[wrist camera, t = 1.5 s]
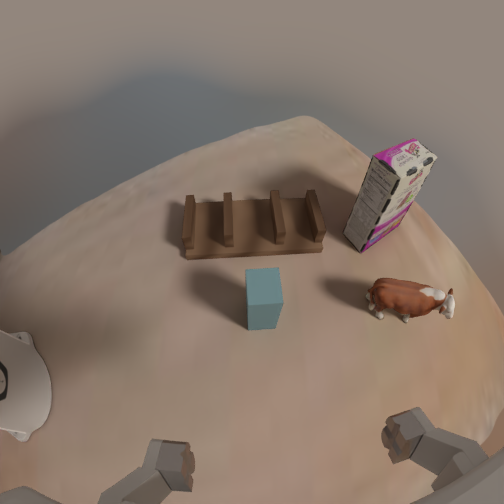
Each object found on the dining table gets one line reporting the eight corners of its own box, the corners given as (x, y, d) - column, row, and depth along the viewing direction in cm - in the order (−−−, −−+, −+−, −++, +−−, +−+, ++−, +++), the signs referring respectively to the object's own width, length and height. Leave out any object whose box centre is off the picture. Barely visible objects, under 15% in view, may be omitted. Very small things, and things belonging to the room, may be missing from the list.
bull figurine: (430, 335, 33) (463, 316, 26) (354, 314, 35) (378, 290, 29) (432, 309, 35) (462, 286, 29) (359, 287, 38) (381, 258, 31)
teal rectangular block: (248, 330, 34) (248, 305, 27) (246, 301, 36) (245, 269, 29) (275, 328, 35) (283, 302, 27) (272, 300, 37) (278, 267, 29)
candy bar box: (380, 207, 46) (413, 136, 32) (398, 226, 44) (439, 157, 30) (339, 232, 43) (371, 152, 29) (359, 255, 41) (402, 178, 27)
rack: (187, 259, 40) (181, 243, 36) (190, 208, 45) (186, 190, 42) (321, 252, 41) (327, 236, 37) (308, 202, 46) (313, 185, 43)
